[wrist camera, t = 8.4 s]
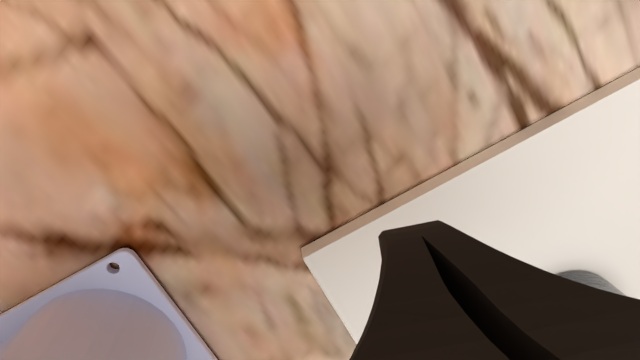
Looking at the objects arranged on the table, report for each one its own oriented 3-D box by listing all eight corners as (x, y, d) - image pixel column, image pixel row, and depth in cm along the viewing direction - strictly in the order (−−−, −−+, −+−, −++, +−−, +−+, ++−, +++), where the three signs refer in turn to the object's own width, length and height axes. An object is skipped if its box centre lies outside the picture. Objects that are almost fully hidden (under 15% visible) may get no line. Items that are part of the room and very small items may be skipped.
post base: (458, 499, 28) (465, 518, 27) (301, 248, 22) (302, 259, 21) (762, 352, 27) (782, 366, 26) (682, 44, 21) (704, 45, 20)
